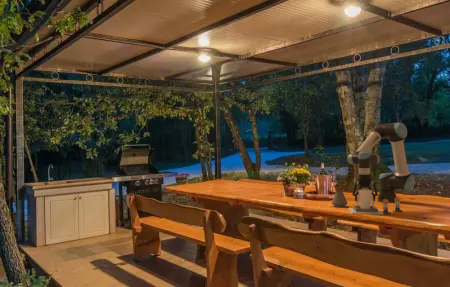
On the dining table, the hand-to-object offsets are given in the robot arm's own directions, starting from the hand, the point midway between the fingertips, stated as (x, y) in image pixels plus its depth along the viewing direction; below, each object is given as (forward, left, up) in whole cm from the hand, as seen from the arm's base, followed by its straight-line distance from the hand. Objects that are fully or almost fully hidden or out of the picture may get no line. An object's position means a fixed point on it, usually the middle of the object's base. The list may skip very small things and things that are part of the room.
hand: (365, 205), depth 263 cm
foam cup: (0, 0, -2) cm, 2 cm away
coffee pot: (-26, -12, -4) cm, 29 cm away
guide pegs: (+2, +17, -4) cm, 17 cm away
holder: (0, 0, -4) cm, 4 cm away
